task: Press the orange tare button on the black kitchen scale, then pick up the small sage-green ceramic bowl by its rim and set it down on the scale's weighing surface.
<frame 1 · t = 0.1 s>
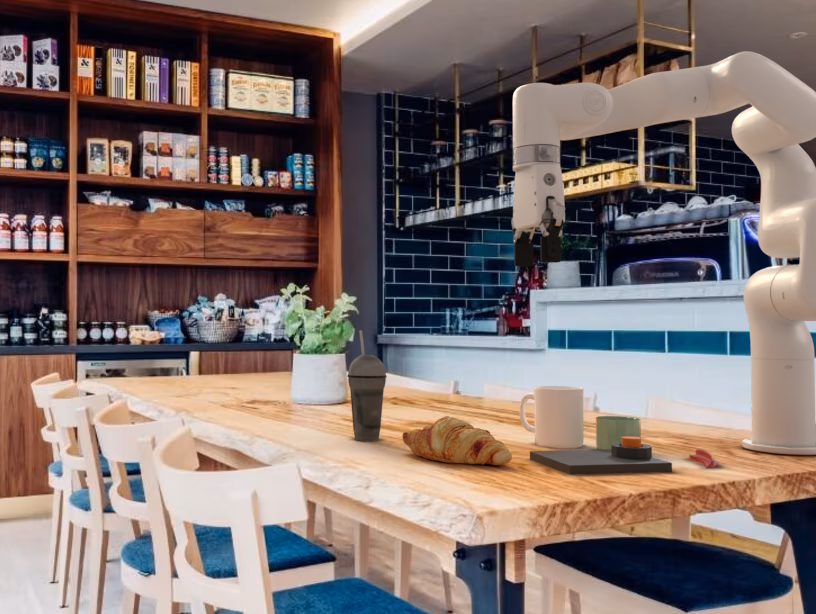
hand: (536, 264, 136), 31 cm above the table, tool pointing down, fingers open, 9 cm apart
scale: (598, 466, 125), on the table
beverage cup: (366, 440, 152), on the table
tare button: (631, 442, 127), point 3 cm above the table, slide at 0.1 cm
croissant: (453, 461, 130), on the table
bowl: (618, 451, 140), on the table
cayenne pepper: (703, 464, 129), on the table
cup: (549, 445, 148), on the table
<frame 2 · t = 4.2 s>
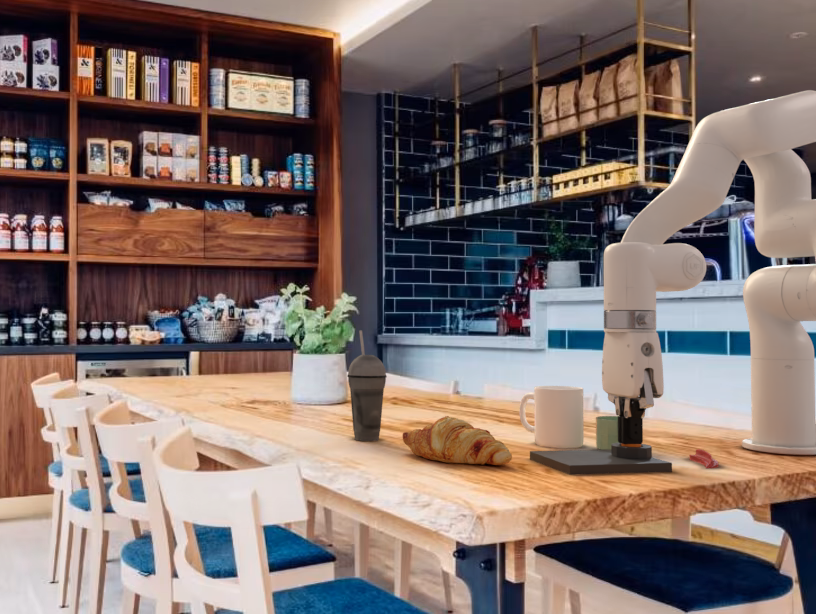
hand: (630, 443, 126), 3 cm above the table, tool pointing down, fingers closed
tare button: (631, 448, 127), point 3 cm above the table, slide at -0.7 cm, touching gripper
everything else where it was.
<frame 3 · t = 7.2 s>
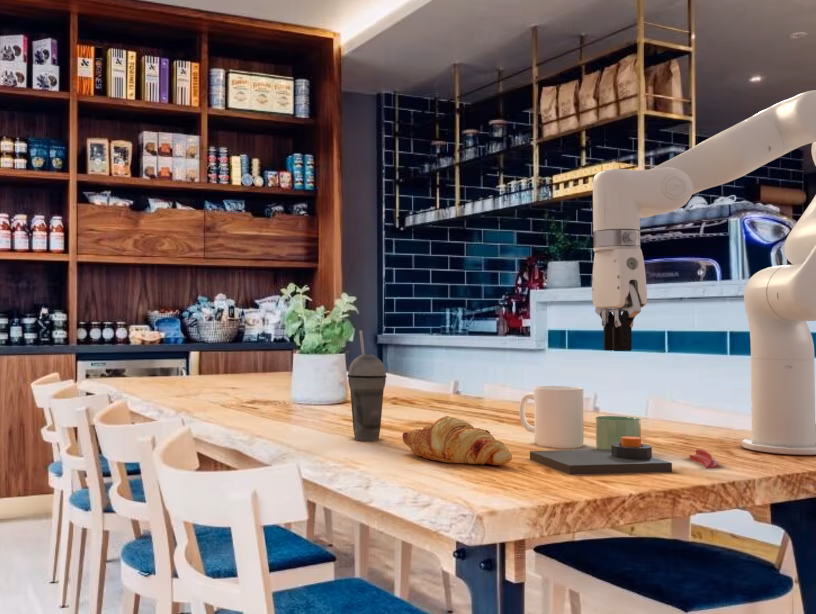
hand: (617, 349, 141), 17 cm above the table, tool pointing down, fingers closed
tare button: (631, 442, 127), point 3 cm above the table, slide at 0.1 cm
everything else where it was.
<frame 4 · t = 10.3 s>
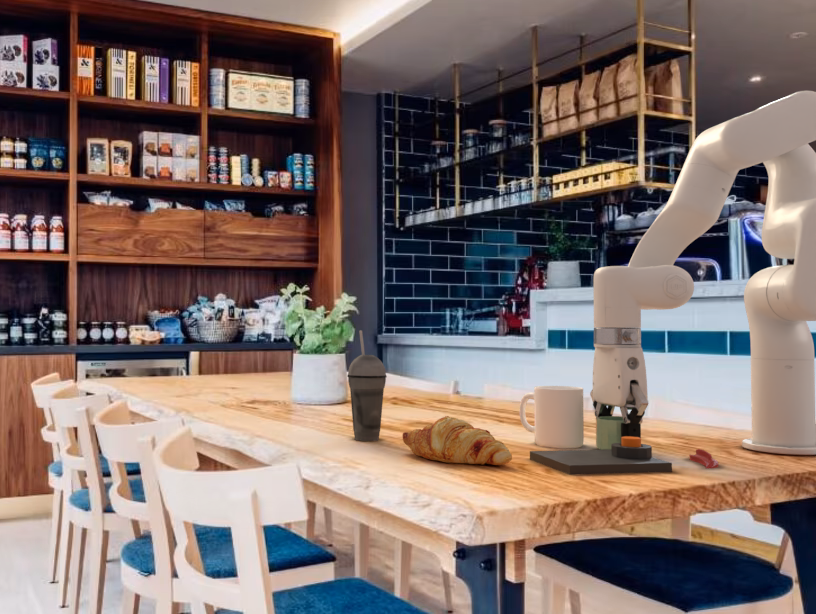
hand: (618, 443, 140), 1 cm above the table, tool pointing down, fingers closed on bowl, 7 cm apart
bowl: (618, 451, 140), on the table, touching gripper
everything else where it was.
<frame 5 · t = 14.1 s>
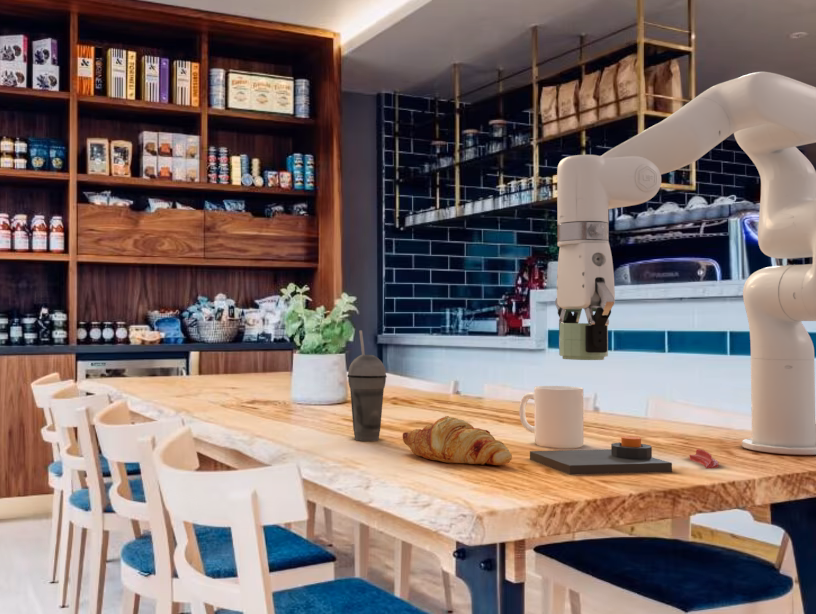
hand: (583, 350, 127), 17 cm above the table, tool pointing down, fingers closed on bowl, 7 cm apart
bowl: (583, 359, 127), point 16 cm above the table, touching gripper
everything else where it was.
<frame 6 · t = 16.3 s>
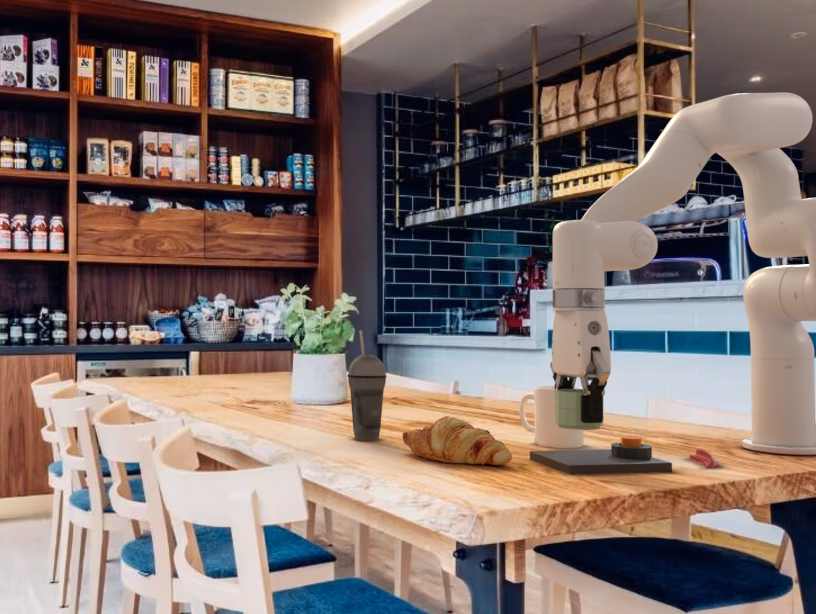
hand: (578, 418, 125), 7 cm above the table, tool pointing down, fingers closed on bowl, 7 cm apart
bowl: (578, 427, 125), point 6 cm above the table, touching gripper
everything else where it was.
when the fingers open (3 cm above the table, at t = 18.0 s): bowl stays where it is, resting on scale.
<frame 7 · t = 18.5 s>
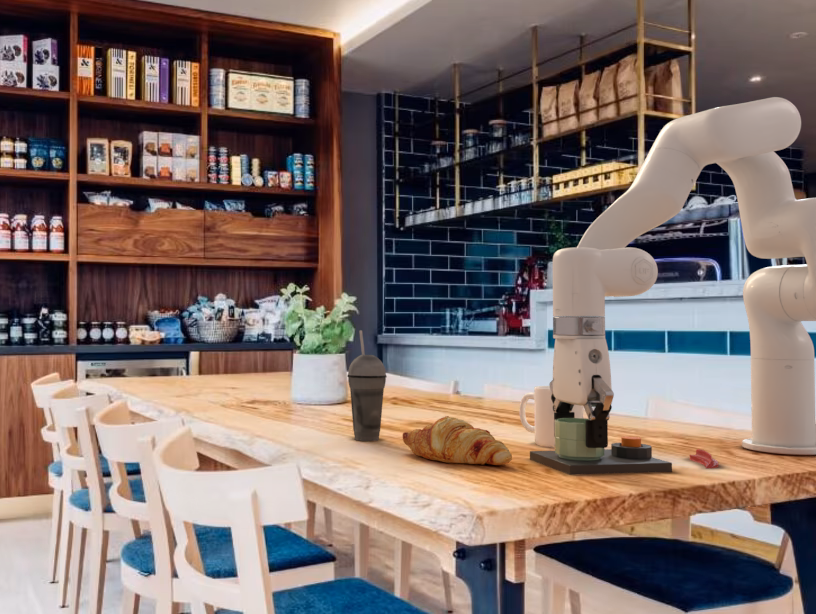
hand: (579, 442, 125), 4 cm above the table, tool pointing down, fingers open, 9 cm apart
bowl: (579, 457, 125), point 1 cm above the table, touching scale
everything else where it was.
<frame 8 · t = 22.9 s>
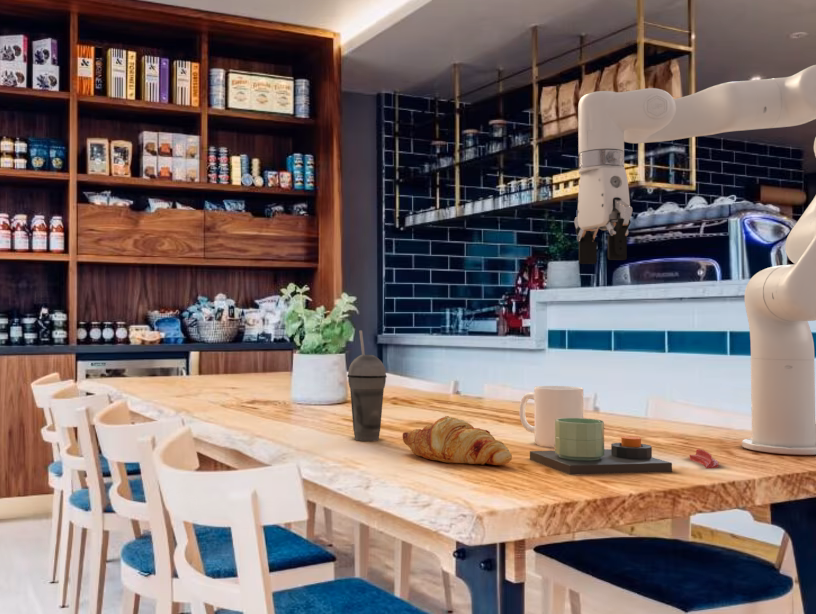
hand: (602, 261, 144), 32 cm above the table, tool pointing down, fingers open, 9 cm apart
nothing on the table moved.
at the end: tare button pushed in 0.9 cm at the most during the clip and back out by the end; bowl 0.1 cm from the target spot on the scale, point 1.4 cm above the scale's base; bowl tilted 0° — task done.
